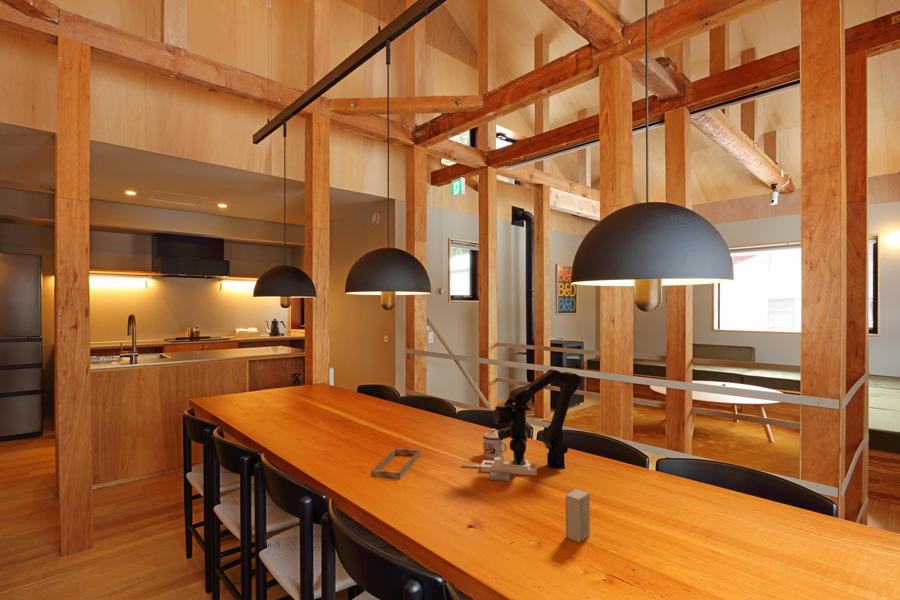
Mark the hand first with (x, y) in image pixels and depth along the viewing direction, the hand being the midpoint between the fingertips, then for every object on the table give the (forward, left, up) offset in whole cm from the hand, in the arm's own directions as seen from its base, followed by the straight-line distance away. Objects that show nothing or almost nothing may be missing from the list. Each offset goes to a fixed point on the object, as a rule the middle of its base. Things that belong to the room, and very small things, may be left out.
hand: (519, 460), depth 177 cm
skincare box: (-19, +49, -4) cm, 53 cm away
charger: (0, 0, -2) cm, 2 cm away
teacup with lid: (+11, -16, -4) cm, 20 cm away
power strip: (+8, 0, -4) cm, 9 cm away
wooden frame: (+50, +4, -4) cm, 50 cm away
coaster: (+7, +8, -4) cm, 11 cm away
